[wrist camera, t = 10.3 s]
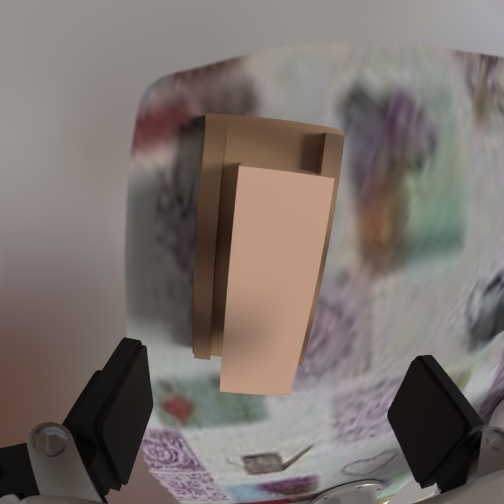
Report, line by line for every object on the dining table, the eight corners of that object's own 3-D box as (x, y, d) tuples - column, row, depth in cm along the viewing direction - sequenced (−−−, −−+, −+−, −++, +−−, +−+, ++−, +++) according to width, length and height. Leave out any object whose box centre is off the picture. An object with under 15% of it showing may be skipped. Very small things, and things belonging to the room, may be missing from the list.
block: (304, 169, 19) (334, 178, 12) (278, 331, 22) (289, 395, 16) (242, 162, 18) (239, 165, 12) (226, 326, 22) (219, 391, 15)
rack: (300, 354, 24) (304, 370, 22) (194, 346, 24) (190, 362, 22) (339, 131, 19) (349, 128, 17) (207, 115, 18) (202, 110, 16)
